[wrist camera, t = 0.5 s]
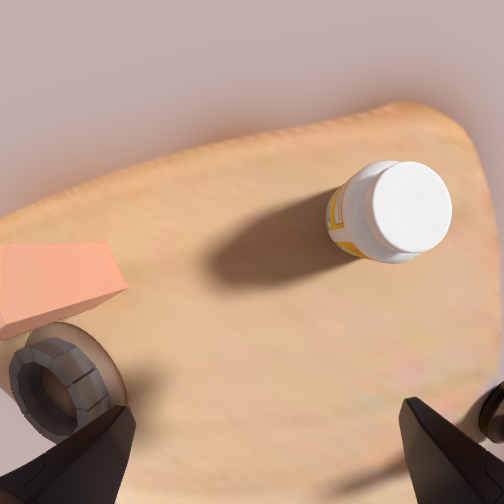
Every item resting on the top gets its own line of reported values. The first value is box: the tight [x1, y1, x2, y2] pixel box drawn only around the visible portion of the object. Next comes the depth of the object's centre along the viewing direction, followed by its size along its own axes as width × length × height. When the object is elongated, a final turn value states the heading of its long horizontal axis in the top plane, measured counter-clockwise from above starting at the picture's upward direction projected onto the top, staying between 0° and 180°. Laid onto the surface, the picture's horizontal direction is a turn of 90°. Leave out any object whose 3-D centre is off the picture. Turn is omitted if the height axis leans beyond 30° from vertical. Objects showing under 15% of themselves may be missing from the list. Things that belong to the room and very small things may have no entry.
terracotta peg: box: [0, 242, 128, 341], centre depth 17 cm, size 4×4×13 cm
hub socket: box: [9, 322, 127, 444], centre depth 22 cm, size 12×12×4 cm
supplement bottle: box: [326, 160, 452, 264], centre depth 17 cm, size 5×5×10 cm
